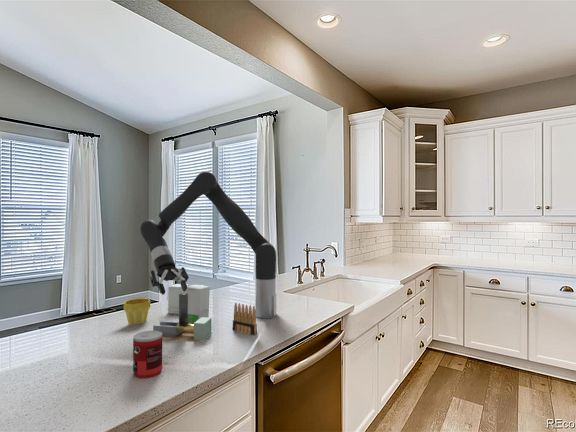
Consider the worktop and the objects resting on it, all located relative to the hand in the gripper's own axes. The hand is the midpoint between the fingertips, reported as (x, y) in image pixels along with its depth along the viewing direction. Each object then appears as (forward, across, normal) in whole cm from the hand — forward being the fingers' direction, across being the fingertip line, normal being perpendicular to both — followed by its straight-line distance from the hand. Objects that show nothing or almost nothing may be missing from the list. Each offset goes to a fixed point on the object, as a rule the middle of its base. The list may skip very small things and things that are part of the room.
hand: (174, 291), depth 131 cm
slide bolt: (+18, +2, +4) cm, 18 cm away
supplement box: (-8, +14, +31) cm, 35 cm away
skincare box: (+7, +13, +16) cm, 22 cm away
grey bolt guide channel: (+13, -4, +9) cm, 16 cm away
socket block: (+20, +5, +1) cm, 21 cm away
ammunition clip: (+25, +19, -2) cm, 32 cm away
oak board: (+16, 0, +6) cm, 18 cm away
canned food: (+30, -20, -7) cm, 36 cm away
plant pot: (-3, -7, +27) cm, 28 cm away
